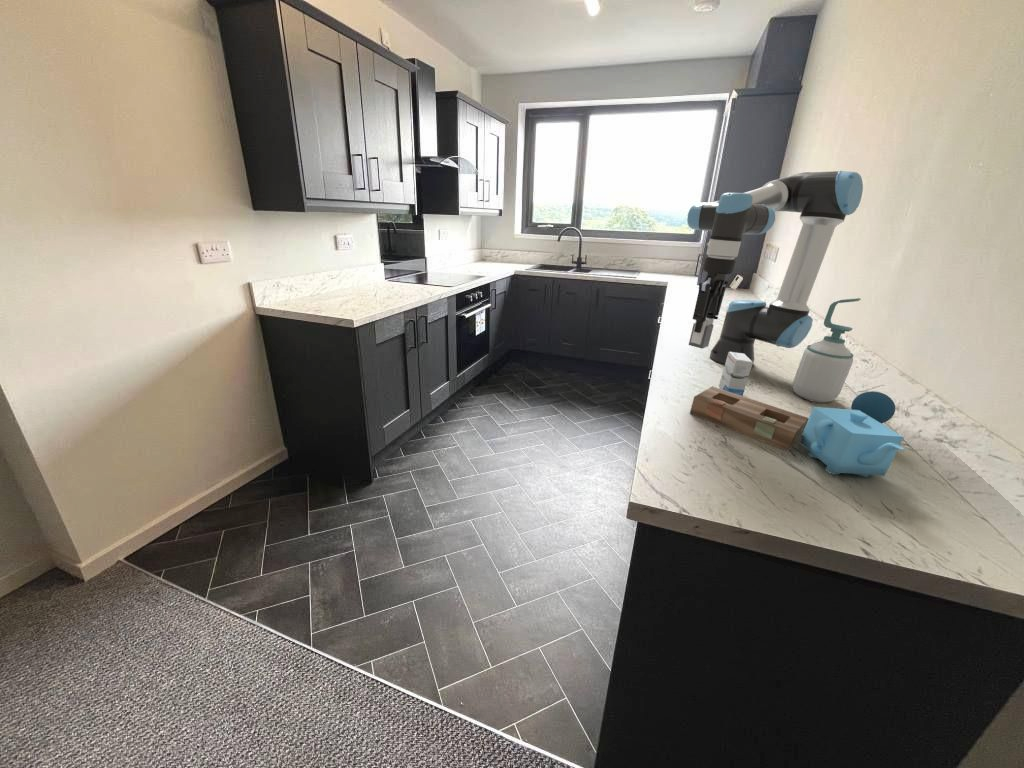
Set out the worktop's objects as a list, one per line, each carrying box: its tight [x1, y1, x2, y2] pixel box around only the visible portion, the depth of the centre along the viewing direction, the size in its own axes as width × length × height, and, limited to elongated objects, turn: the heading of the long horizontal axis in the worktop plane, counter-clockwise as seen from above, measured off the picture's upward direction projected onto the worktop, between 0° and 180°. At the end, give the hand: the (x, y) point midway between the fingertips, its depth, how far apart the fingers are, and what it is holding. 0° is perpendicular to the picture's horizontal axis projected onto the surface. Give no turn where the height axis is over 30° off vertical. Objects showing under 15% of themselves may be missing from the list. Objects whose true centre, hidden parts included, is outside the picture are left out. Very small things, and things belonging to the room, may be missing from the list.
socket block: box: [689, 386, 809, 452], centre depth 107 cm, size 12×24×5 cm, turn 43°
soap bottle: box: [792, 297, 861, 403], centre depth 123 cm, size 12×12×31 cm
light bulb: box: [850, 390, 896, 424], centre depth 105 cm, size 8×8×12 cm
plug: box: [688, 317, 715, 350], centre depth 117 cm, size 4×4×8 cm
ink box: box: [718, 352, 754, 396], centre depth 126 cm, size 8×5×12 cm, turn 168°
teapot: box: [799, 406, 905, 478], centre depth 88 cm, size 18×16×13 cm
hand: (699, 341), depth 118 cm, fingers closed on plug, 4 cm apart
